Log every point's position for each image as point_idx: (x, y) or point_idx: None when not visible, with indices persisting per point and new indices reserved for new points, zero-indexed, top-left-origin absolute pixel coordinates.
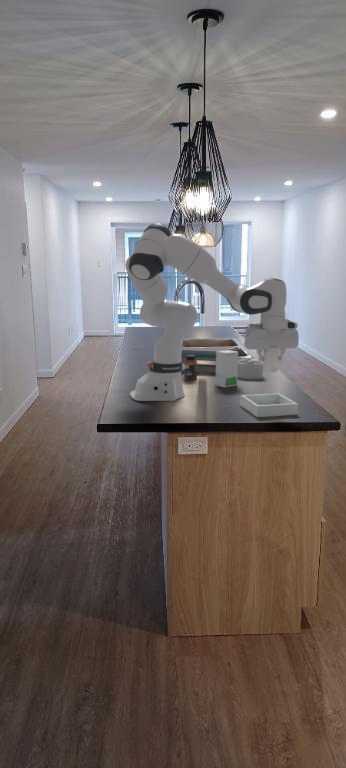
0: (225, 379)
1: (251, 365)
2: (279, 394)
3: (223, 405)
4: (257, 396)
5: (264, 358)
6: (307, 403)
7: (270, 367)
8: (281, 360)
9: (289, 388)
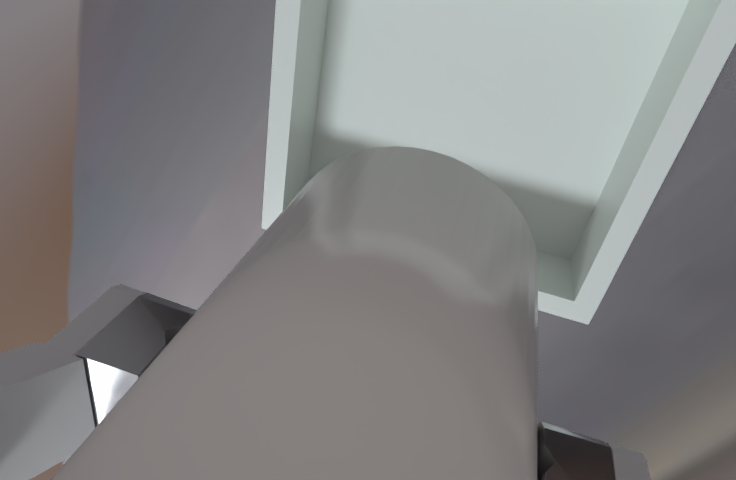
0: None
1: None
2: (275, 198)
3: (694, 333)
4: None
5: (548, 472)
6: (106, 98)
7: (475, 216)
8: (128, 290)
9: None
